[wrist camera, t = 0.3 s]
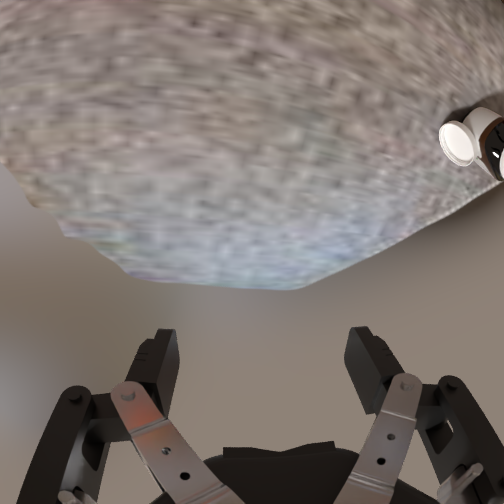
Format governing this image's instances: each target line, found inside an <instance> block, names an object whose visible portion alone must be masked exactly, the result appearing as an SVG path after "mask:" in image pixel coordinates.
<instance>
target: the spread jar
mask: <svg viewBox="0 0 504 504" xmlns="http://www.w3.org/2000/svg"><path fill="white" fill-rule="evenodd" d="M439 140H440V144H441V147H442V149H443V151H444V152H445V154H446V155H447V157H448V158H449V159H450V160H451V161H452V162H454V163H455V164H457V165H459V166H468V165H470V164H471V163H472V162H473V161H475V162H476V163H477V164H478V165H479V166H480V167H481V168H483V169H484V170H485V171H486V172H487V173H489V174H490V175H491V176H492V177H493V178H495V179H496V180H498V181H504V118H503V117H502V116H500V115H499V114H497V113H495V112H493V111H491V110H489V109H487V108H484V107H478V108H475V109H474V110H472V111H471V112H469V113H468V114H467V115H466V116H465V118H464V119H463V121H462V122H461V123H460V122H458V121H449V122H447V123H446V124H444V125H443V126H442V127H441V128H440V131H439Z"/></svg>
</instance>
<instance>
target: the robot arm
mask: <svg viewBox="0 0 504 504" xmlns="http://www.w3.org/2000/svg"><path fill="white" fill-rule="evenodd" d="M179 361H180V359H179V351H178V344H177V337H176V331H175V330H174V329H158V330H157V333H156V335H155V338H154V339H147V340H145V341H144V342H143V343H142V344H141V345H140V347H139V349H138V351H137V354H136V356H135V358H134V361H133V363H132V365H131V367H130V370H129V372H128V375H127V377H126V379H125V381H124V382H122V383H119V384H117V385H116V386H115V387H114V388H113V389H112V391H111V393H106V394H96V395H91V393H90V391H89V390H88V389H87V388H86V387H83V386H72V387H69V388H67V389H66V390H65V391H64V392H63V393H62V394H61V396H60V398H59V400H58V402H57V404H56V406H55V409H54V410H53V413H52V415H51V417H50V419H49V421H48V423H47V426H46V428H45V430H44V432H43V435H42V437H41V439H40V442H39V444H38V446H37V449H36V451H35V454H34V456H33V459H32V461H31V464H30V466H29V469H28V471H27V474H26V477H25V480H24V482H23V485H22V488H21V491H20V494H19V497H18V500H17V503H16V504H97V499H98V494H99V489H100V485H101V480H102V476H103V471H104V467H105V463H106V459H107V455H108V451H109V448H110V444H111V442H119V441H129V440H130V441H131V443H132V445H133V446H134V448H135V450H136V452H137V453H138V455H139V456H140V458H141V460H142V461H143V463H144V465H145V466H146V468H147V470H148V471H149V473H150V474H151V476H152V478H153V479H154V481H155V483H156V484H157V486H158V487H159V488H160V490H161V491H162V494H161V495H160V496H159V497H158V498H156V499H155V500H154V501H153V502H151V503H150V504H503V503H504V446H503V445H502V443H501V441H500V440H499V438H498V436H497V434H496V433H495V431H494V429H493V427H492V426H491V424H490V423H489V421H488V419H487V418H486V416H485V414H484V413H483V411H482V410H481V408H480V407H479V405H478V404H477V402H476V400H475V399H474V397H473V396H472V394H471V393H470V391H469V390H468V389H467V387H466V385H465V384H464V383H463V382H462V380H461V379H459V378H457V377H455V376H450V375H448V376H444V377H442V378H441V379H440V380H439V382H438V384H437V385H433V384H422V382H421V381H420V380H419V378H418V377H416V376H414V375H412V374H409V373H405V372H404V370H403V369H402V367H401V365H400V364H399V362H398V361H397V359H396V358H395V356H394V355H393V353H392V351H391V350H389V347H388V345H387V344H386V342H385V341H384V340H382V339H381V338H379V337H378V336H373V334H372V333H371V331H370V330H369V328H368V327H367V326H363V327H352V328H351V329H350V332H349V337H348V341H347V345H346V349H345V354H344V361H345V365H346V368H347V370H348V373H349V375H350V377H351V380H352V382H353V384H354V387H355V389H356V391H357V394H358V396H359V399H360V401H361V403H362V405H363V408H364V410H365V413H366V414H373V413H375V414H376V416H377V417H376V419H375V421H374V423H373V426H372V428H371V430H370V432H369V434H368V436H367V439H366V441H365V443H364V445H363V447H362V449H361V451H360V452H359V454H358V453H356V452H353V451H350V450H346V449H341V448H335V444H334V441H328V442H322V443H321V442H320V443H312V444H306V445H303V446H300V447H296V448H293V449H290V450H286V451H282V452H276V451H269V450H263V449H258V448H252V447H250V448H249V447H239V448H238V447H234V448H233V447H223V455H218V456H214V457H211V458H209V459H206V460H204V461H202V460H201V459H200V458H199V457H198V456H197V454H196V453H195V452H194V451H193V449H192V448H191V447H190V446H189V444H188V443H187V442H186V441H185V439H184V438H183V437H182V436H181V434H180V433H179V432H178V430H177V429H176V428H175V426H174V425H173V424H172V422H171V421H170V420H169V419H168V414H169V409H170V405H171V400H172V396H173V392H174V387H175V383H176V379H177V375H178V370H179V363H180V362H179ZM447 420H449V422H450V424H451V426H452V428H453V432H452V430H451V428H450V427H449V425H448V423H447ZM414 429H417V430H418V432H419V434H420V437H421V439H422V441H423V443H424V446H425V448H426V451H427V453H428V455H429V458H430V460H431V462H432V465H433V468H434V470H435V473H436V475H437V478H438V480H439V483H440V486H439V488H438V491H437V500H435V499H434V498H432V497H430V496H428V495H426V494H424V493H423V492H421V491H419V490H417V489H416V488H414V487H412V486H410V485H409V484H407V483H405V482H403V481H402V480H400V479H398V476H399V473H400V470H401V468H402V465H403V462H404V460H405V457H406V454H407V451H408V448H409V445H410V442H411V439H412V435H413V432H414Z"/></svg>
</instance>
